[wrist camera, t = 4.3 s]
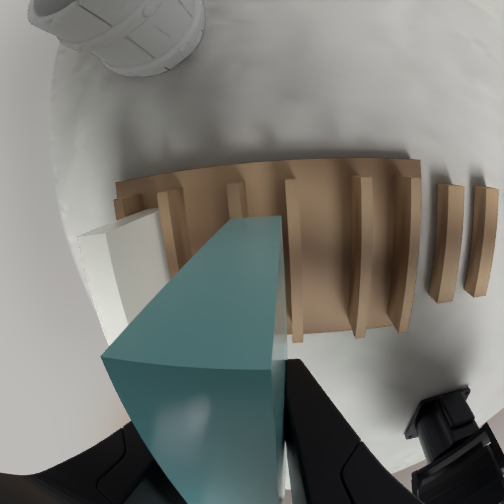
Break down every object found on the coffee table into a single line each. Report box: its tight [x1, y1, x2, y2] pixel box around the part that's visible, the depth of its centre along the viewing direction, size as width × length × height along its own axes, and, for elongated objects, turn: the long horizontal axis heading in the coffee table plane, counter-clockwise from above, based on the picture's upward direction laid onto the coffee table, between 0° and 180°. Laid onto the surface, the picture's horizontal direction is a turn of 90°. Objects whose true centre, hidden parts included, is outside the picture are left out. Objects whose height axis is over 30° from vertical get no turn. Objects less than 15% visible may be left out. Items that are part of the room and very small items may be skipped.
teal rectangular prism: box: [101, 215, 288, 504], centre depth 6 cm, size 7×2×7 cm, turn 5°
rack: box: [114, 158, 421, 343], centre depth 16 cm, size 11×19×4 cm, turn 95°
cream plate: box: [77, 207, 171, 346], centre depth 14 cm, size 7×2×7 cm, turn 5°
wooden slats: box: [429, 184, 499, 303], centre depth 15 cm, size 8×5×2 cm, turn 5°
